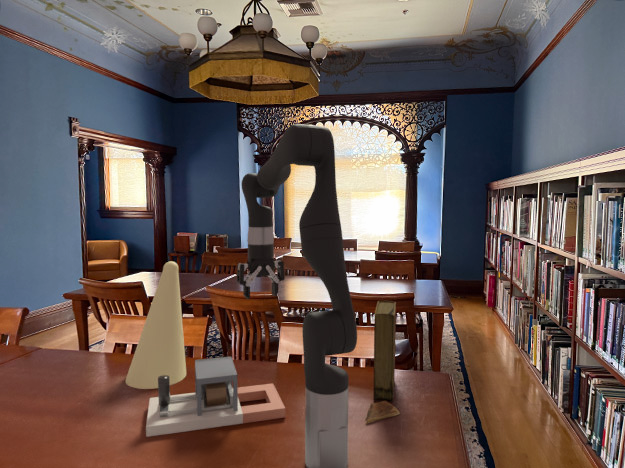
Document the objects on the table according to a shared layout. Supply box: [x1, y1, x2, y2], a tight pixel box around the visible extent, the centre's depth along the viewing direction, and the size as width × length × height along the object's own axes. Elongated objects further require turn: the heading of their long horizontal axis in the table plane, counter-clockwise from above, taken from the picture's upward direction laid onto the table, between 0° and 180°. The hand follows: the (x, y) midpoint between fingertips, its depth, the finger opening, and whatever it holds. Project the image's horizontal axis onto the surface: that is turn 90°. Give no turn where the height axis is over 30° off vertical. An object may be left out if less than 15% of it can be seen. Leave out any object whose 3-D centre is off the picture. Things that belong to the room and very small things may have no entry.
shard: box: [365, 400, 401, 424], centre depth 120 cm, size 11×8×2 cm
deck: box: [145, 383, 286, 438], centre depth 120 cm, size 16×34×2 cm, turn 106°
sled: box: [157, 375, 233, 417], centre depth 118 cm, size 9×19×8 cm, turn 107°
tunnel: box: [194, 356, 238, 416], centre depth 121 cm, size 14×10×10 cm
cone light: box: [125, 260, 187, 390], centre depth 145 cm, size 25×18×35 cm
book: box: [372, 300, 397, 402], centre depth 133 cm, size 16×6×25 cm, turn 168°
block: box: [206, 382, 226, 406], centre depth 120 cm, size 5×5×5 cm
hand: (261, 296), depth 134 cm, fingers open, 8 cm apart
